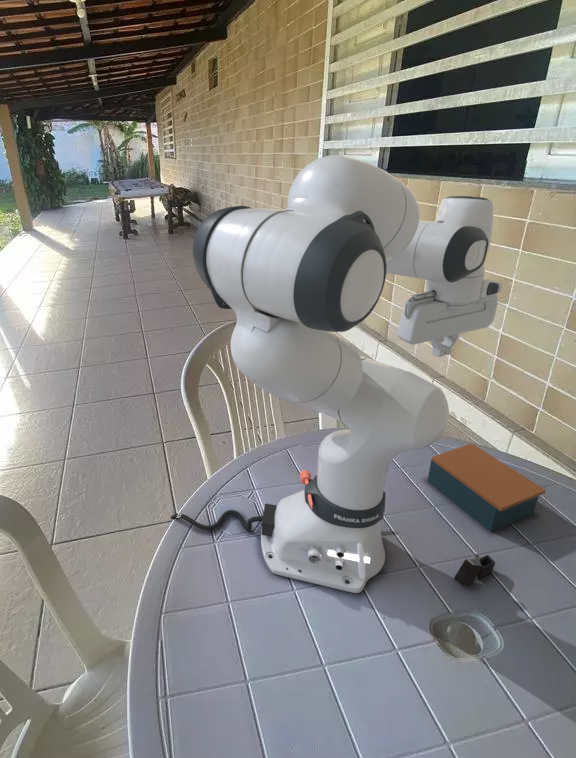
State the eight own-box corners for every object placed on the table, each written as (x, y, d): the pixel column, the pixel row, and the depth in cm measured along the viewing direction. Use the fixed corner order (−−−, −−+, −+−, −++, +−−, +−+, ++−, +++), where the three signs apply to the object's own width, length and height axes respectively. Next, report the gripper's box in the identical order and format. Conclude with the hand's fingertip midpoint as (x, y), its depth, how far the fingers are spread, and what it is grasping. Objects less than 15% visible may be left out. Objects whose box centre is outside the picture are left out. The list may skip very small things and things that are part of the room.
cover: (545, 493, 81) (546, 490, 80) (500, 511, 77) (501, 508, 77) (471, 446, 94) (472, 443, 94) (431, 459, 91) (431, 456, 91)
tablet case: (533, 513, 84) (540, 490, 81) (490, 531, 80) (496, 508, 78) (466, 467, 97) (471, 446, 94) (427, 481, 93) (431, 460, 91)
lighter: (471, 576, 75) (486, 552, 74) (483, 586, 73) (498, 561, 72) (449, 575, 71) (465, 549, 70) (461, 585, 69) (477, 558, 68)
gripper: (421, 300, 71) (411, 372, 76) (509, 283, 77) (494, 351, 82) (393, 291, 77) (386, 358, 82) (477, 275, 83) (465, 339, 88)
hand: (441, 354), depth 82 cm, fingers closed
